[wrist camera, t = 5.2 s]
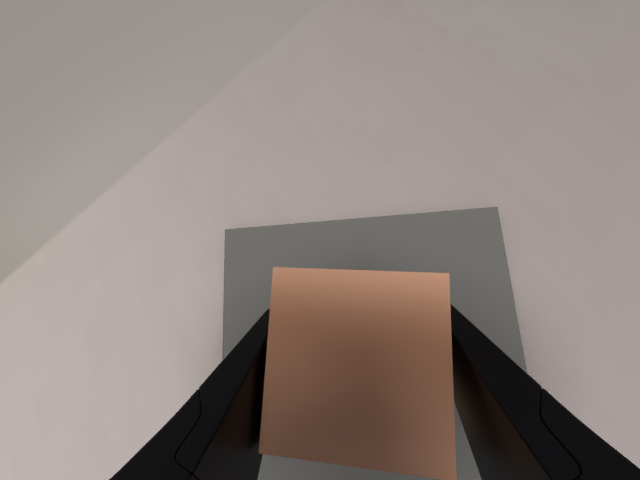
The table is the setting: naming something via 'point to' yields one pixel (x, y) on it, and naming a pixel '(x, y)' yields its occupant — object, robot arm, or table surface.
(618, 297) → the table surface
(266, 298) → the rubber mat
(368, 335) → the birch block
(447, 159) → the table surface
